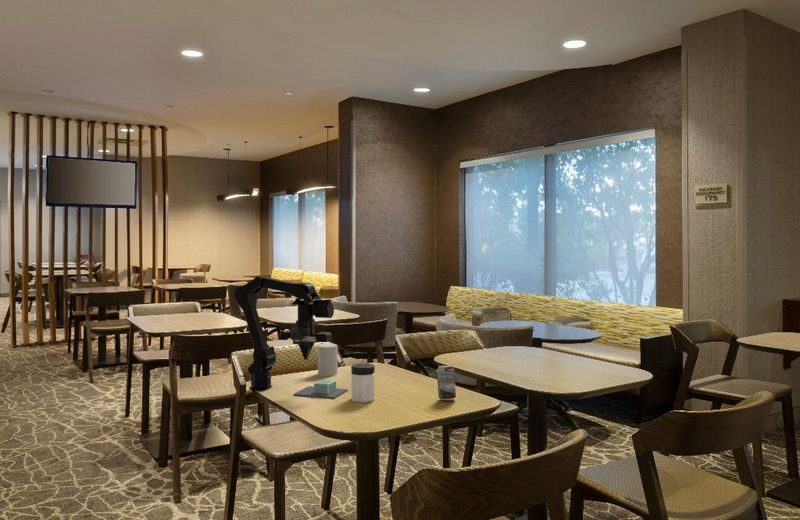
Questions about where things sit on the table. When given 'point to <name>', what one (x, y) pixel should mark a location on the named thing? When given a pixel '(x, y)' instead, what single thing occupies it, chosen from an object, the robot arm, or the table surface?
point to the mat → (310, 393)
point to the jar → (362, 382)
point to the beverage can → (446, 382)
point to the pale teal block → (325, 386)
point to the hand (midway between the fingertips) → (305, 359)
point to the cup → (327, 360)
